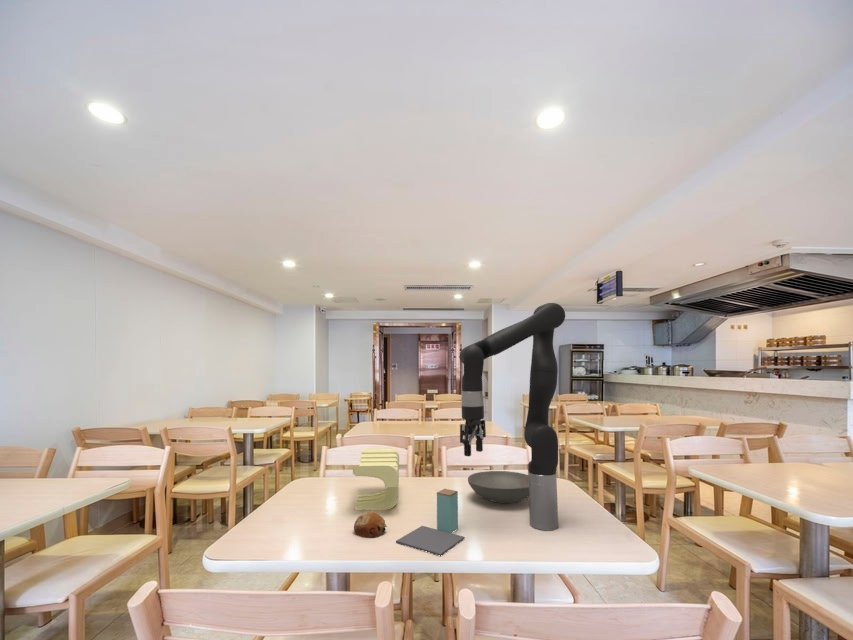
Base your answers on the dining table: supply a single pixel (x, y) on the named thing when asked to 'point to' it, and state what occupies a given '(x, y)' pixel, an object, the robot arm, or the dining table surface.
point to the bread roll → (369, 525)
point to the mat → (430, 540)
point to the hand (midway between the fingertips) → (473, 453)
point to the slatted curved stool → (381, 467)
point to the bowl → (500, 486)
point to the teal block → (447, 510)
